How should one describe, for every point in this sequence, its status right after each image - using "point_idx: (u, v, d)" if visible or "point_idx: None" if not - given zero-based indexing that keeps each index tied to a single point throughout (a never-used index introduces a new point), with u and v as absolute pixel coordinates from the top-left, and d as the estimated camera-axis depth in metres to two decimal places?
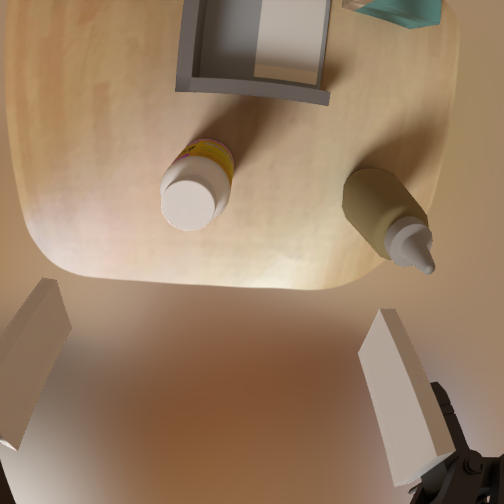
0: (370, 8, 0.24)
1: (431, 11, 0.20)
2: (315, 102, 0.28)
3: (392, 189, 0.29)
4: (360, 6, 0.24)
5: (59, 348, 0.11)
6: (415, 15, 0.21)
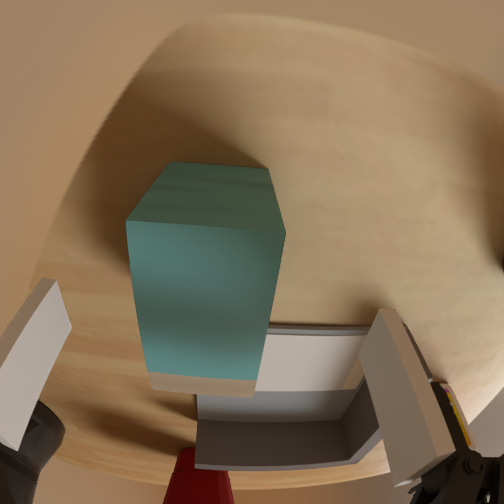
0: None
1: (246, 262, 0.10)
2: None
3: None
4: None
5: (59, 348, 0.11)
6: None
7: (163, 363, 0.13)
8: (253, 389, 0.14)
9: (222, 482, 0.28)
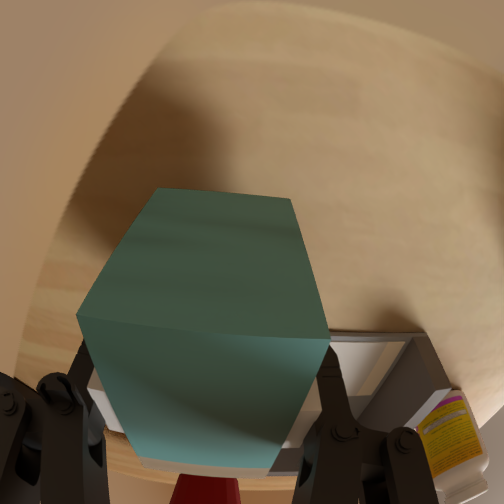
0: None
1: (265, 375, 0.06)
2: (440, 399, 0.17)
3: None
4: None
5: None
6: None
7: (155, 452, 0.09)
8: (265, 473, 0.10)
9: (230, 485, 0.28)
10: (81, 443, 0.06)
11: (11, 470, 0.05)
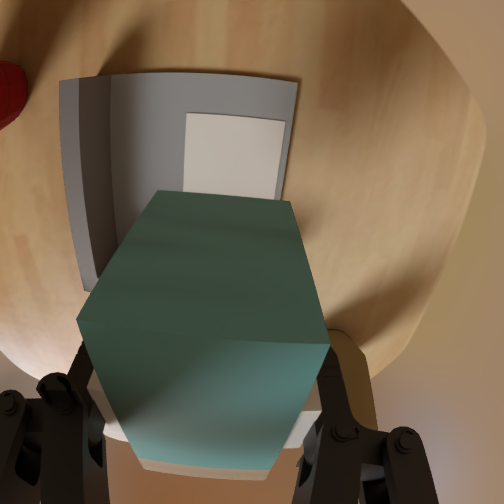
0: None
1: (265, 379, 0.06)
2: None
3: None
4: None
5: None
6: None
7: (155, 454, 0.09)
8: (265, 475, 0.10)
9: None
10: (81, 443, 0.06)
11: (11, 471, 0.05)
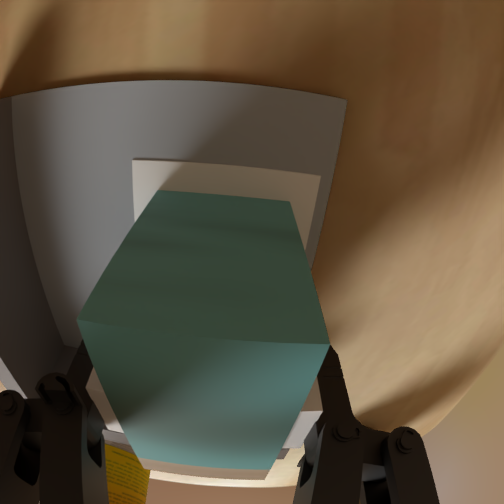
0: None
1: (264, 379, 0.06)
2: None
3: None
4: None
5: None
6: None
7: (155, 454, 0.09)
8: (265, 475, 0.10)
9: None
10: (80, 443, 0.06)
11: (10, 470, 0.05)
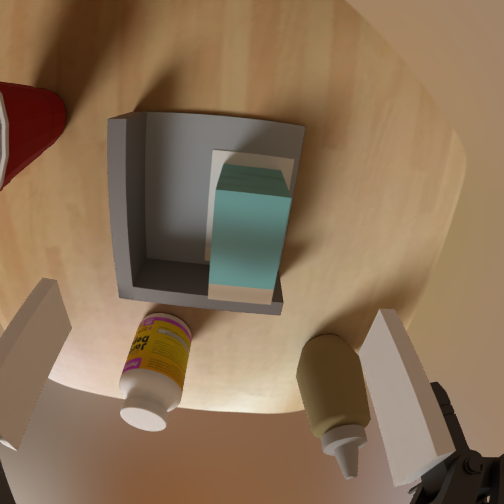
0: None
1: (272, 212, 0.21)
2: (266, 313, 0.28)
3: (339, 390, 0.29)
4: None
5: (59, 348, 0.11)
6: None
7: (220, 276, 0.24)
8: (271, 297, 0.25)
9: (38, 153, 0.21)
10: None
11: None
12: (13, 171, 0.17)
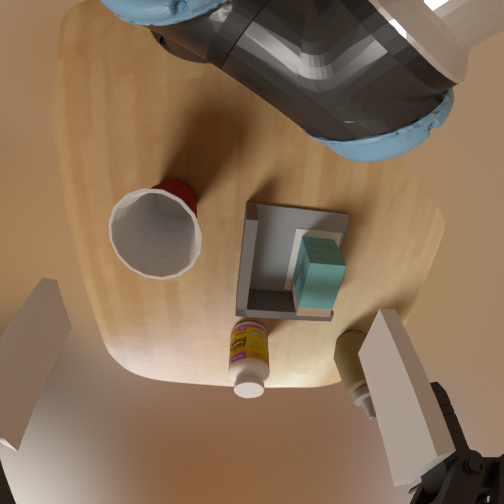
0: None
1: (336, 272, 0.40)
2: (323, 320, 0.48)
3: None
4: None
5: (59, 348, 0.11)
6: None
7: (305, 303, 0.43)
8: (330, 313, 0.44)
9: None
10: None
11: None
12: None
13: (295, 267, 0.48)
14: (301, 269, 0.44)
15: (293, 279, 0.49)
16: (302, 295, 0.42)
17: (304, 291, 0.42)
